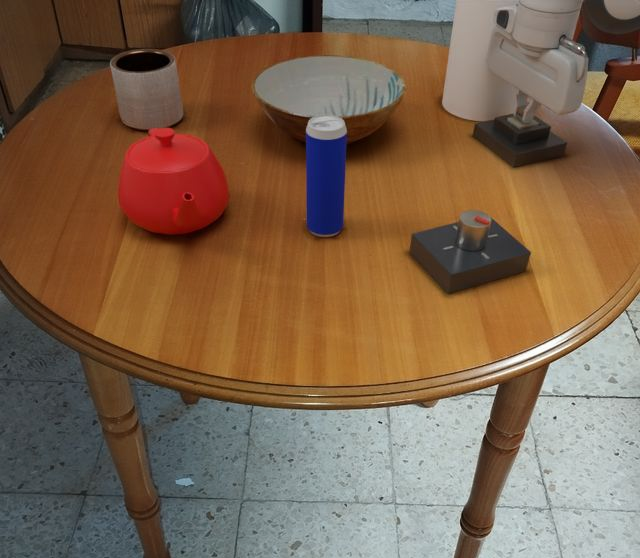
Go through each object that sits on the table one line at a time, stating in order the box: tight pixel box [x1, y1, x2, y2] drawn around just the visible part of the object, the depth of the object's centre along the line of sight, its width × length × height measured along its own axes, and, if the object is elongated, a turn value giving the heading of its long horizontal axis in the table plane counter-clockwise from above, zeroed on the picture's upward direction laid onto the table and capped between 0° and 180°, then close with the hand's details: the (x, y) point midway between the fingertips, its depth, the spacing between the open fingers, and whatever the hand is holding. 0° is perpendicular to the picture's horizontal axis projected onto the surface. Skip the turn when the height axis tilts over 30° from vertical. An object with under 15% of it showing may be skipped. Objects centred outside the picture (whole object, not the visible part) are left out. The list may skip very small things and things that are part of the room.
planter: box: [109, 48, 184, 132], centre depth 115 cm, size 11×11×10 cm
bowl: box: [250, 54, 407, 146], centre depth 113 cm, size 25×25×8 cm
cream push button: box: [507, 117, 539, 129], centre depth 110 cm, size 4×4×2 cm
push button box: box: [472, 113, 568, 168], centre depth 111 cm, size 10×12×4 cm
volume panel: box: [409, 217, 532, 295], centre depth 89 cm, size 12×10×3 cm
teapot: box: [117, 127, 231, 236], centre depth 93 cm, size 25×16×12 cm, turn 21°
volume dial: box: [455, 209, 492, 251], centre depth 87 cm, size 4×4×4 cm
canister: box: [441, 0, 519, 122], centre depth 116 cm, size 14×14×20 cm
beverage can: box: [305, 115, 347, 238], centre depth 90 cm, size 5×5×15 cm
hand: (522, 119), depth 110 cm, fingers closed, pressing on cream push button
